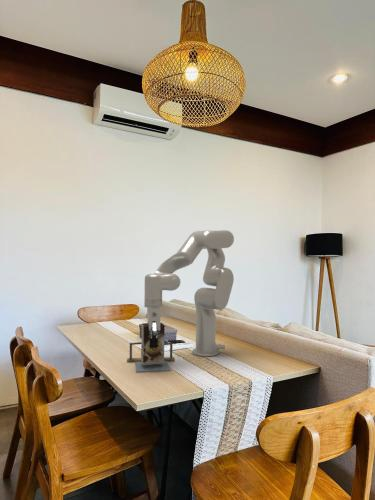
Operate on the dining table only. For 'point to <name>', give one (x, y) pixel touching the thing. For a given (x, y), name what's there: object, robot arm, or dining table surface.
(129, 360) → the wire stand
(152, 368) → the mat
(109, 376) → the dining table surface
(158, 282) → the robot arm
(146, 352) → the coffee box
